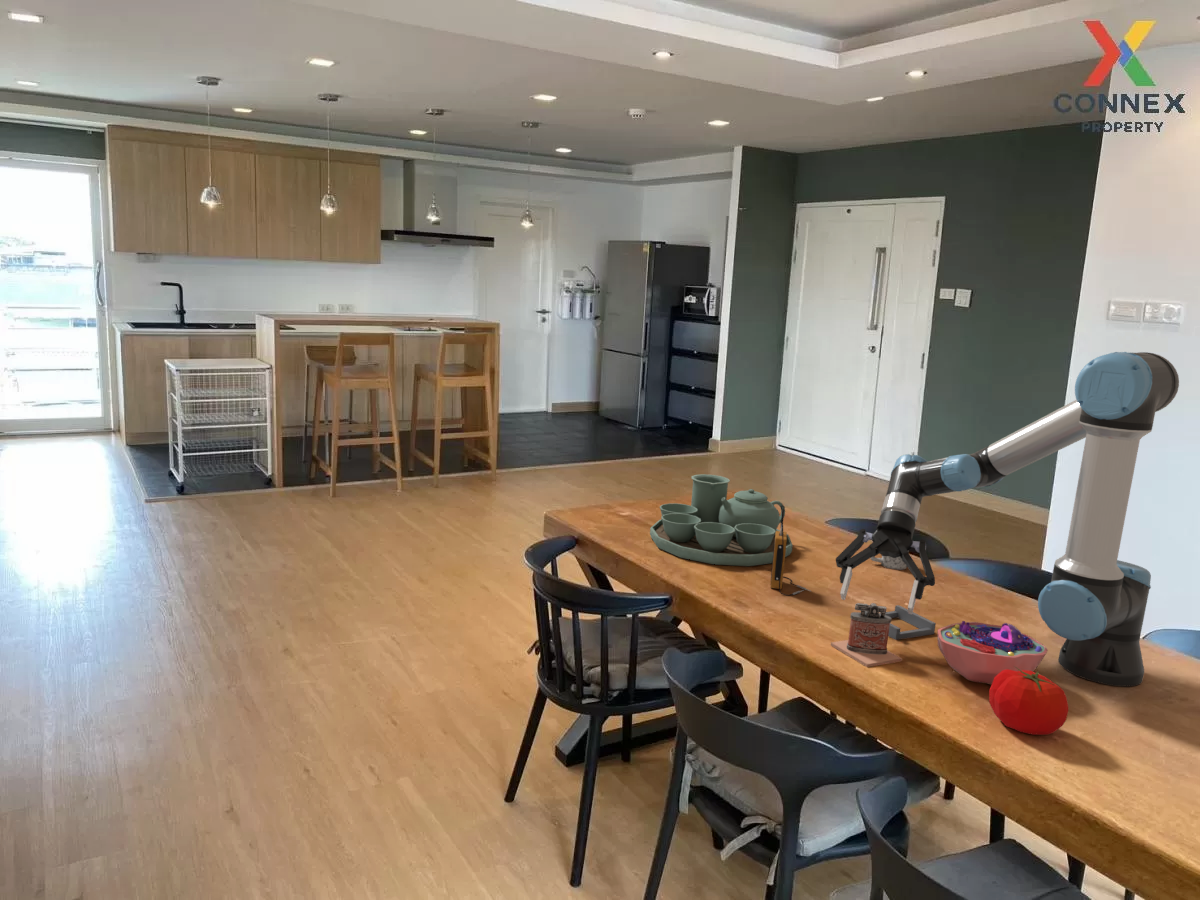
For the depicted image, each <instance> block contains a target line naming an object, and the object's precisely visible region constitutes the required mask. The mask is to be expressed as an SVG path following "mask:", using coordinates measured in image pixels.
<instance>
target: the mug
mask: <svg viewBox="0 0 1200 900" xmlns="http://www.w3.org/2000/svg"><path fill="white" fill-rule="evenodd" d="M909 551H910V550H909ZM909 551H908V552H909ZM870 560H871V561H873V562H875V563H880V564H881V566H882V567H884V568H886V569H889V570H890V569H891V570H898V571H899V570H900V571H901V570H902V571H903V570H906V569H907V568H908V567H907V566H906V564H905V563H904V562H903V560H902V559H901V557H897V558H892V557H890V556H881V557H876V556H874V557H871V558H870Z"/></svg>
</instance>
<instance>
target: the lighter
mask: <svg viewBox="0 0 1200 900" xmlns="http://www.w3.org/2000/svg"><path fill="white" fill-rule="evenodd" d="M854 610H855V611H854V612H850V617H849V618H850V625H849V631H848V632H849V634H848V639H847V640H848V643H847V649H848V650H849V651H853V652H859V653H866V654H880V655H885V654H887V650H888V648H887V647H888V642H889V641H888V640H889V636H888V634H889V626H890V623H891V622H892V618H891V617H889V616H886V615H885V613H886V612H887V607H886V606H882V605H877V603H875V602H872V603H870V604H868V603H862V602H856V603H855V605H854ZM856 611H860V612H856ZM865 611H867V613H865ZM879 613H881V615H880V614H879ZM891 624H892V623H891Z"/></svg>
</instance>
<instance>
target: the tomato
mask: <svg viewBox="0 0 1200 900" xmlns="http://www.w3.org/2000/svg"><path fill="white" fill-rule="evenodd" d="M1014 667H1015V666H1014ZM1017 669H1018V668H1017ZM1018 670H1019V669H1018ZM1039 672H1040V671H1039V670H1037V672H1035V671H1028V670H1019V671H1013V670H1008V669H1006V670H1002V671H1001V672H1000V673H999V674H998V675H996V676H995V677H994V680H993V682H992V684H990V688H989V691H988V693H989V695H988V696H989V699H988V700H989V701H988V702H989V705H990V707H991V709H992V712H993V713H994V715H995V717H996V718H998V720H999V721H1000V722H1002V723H1003V725H1004V726H1006V727H1007V728H1010V729H1012V730H1015V731H1017V732H1020V733H1023V734H1024V733H1025V734H1029V735H1033V736H1034V735H1035V736H1037V735H1042V736H1043V735H1044V736H1045V735H1046V736H1047V735H1051V734H1053V733H1055V732H1057V731H1058V730H1059V729H1061V728H1062V727H1063V726H1064V724H1065V722H1066V720H1067V718H1068V714H1069V702H1068V698H1067V694H1066V693H1065V691H1064V689H1062V687H1060V686H1059V685H1058V684H1056V683H1055V682H1054V681H1052V680H1051V679H1049V678H1047V677H1046V676H1044V675H1042V674H1039Z"/></svg>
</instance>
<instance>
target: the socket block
mask: <svg viewBox="0 0 1200 900" xmlns="http://www.w3.org/2000/svg"><path fill="white" fill-rule="evenodd" d="M865 613H867V611H865ZM879 614H880V615H881V613H880V612H879ZM885 615H886V616H889V617H891V619H895V618H897V619H899V620H901V621H904V622H905V623H907V624H909V625H911V626H914V627H916V628H917V629H910V630H904V631H901V628H900V627H898V626H897V625H894V624H893V623H890V626H889V634H888V638H889V637H890V638H891V639H893V640H894V641H897V640H904V639H905V640H906V639H911V638H916V637H922V636H929V635H935V630H936V625H937V624H936V622H934V621H933V620H930V619H928V618H927V617H924V616H922V615H920V614H918V613H916V612H914V611H913V613H912V614H908V608H905V607H904V606H901V605H898V604H897V605H895V607H894V610H893V611H886V613H885Z"/></svg>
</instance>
